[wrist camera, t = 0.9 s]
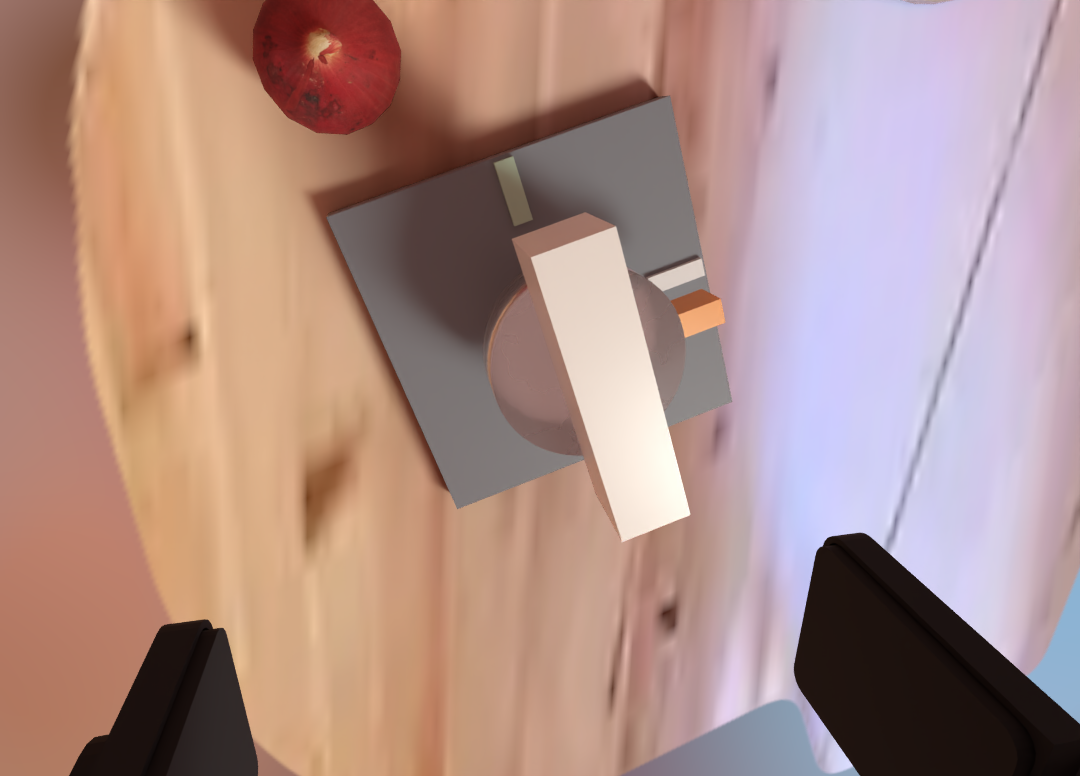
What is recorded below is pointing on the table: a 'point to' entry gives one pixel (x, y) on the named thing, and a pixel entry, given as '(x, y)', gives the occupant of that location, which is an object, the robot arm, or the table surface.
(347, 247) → the base
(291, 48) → the onion
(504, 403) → the cap
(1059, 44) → the table surface
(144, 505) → the table surface
